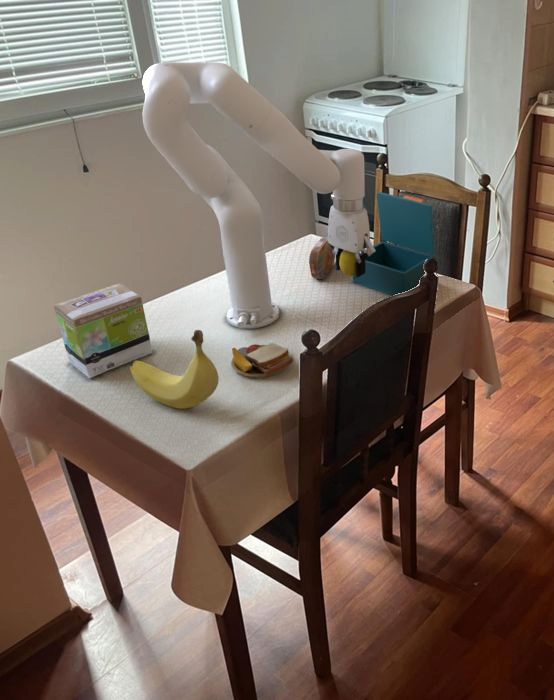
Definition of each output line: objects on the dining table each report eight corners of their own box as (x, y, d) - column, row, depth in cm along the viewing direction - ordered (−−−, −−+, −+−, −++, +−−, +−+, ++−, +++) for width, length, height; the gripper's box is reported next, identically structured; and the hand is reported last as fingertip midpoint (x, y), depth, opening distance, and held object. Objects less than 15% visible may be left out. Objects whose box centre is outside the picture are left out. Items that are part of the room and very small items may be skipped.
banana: (127, 396, 148) (104, 310, 138) (148, 381, 153) (128, 298, 142) (211, 428, 139) (194, 339, 129) (231, 412, 144) (216, 325, 133)
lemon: (353, 283, 179) (352, 253, 175) (335, 277, 181) (334, 248, 177) (366, 275, 183) (365, 246, 179) (348, 270, 185) (347, 241, 181)
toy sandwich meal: (273, 343, 166) (271, 325, 163) (302, 369, 157) (300, 350, 154) (222, 361, 160) (219, 342, 157) (249, 389, 150) (246, 370, 148)
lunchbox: (405, 299, 184) (404, 274, 180) (353, 282, 192) (351, 257, 188) (433, 281, 193) (434, 256, 189) (383, 265, 201) (382, 241, 198)
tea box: (90, 380, 153) (72, 320, 145) (69, 363, 159) (51, 304, 151) (154, 353, 162) (141, 294, 155) (132, 337, 168) (118, 280, 160)
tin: (320, 284, 191) (317, 255, 187) (308, 283, 192) (306, 254, 188) (336, 260, 204) (335, 233, 199) (326, 259, 204) (324, 232, 200)
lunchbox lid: (430, 206, 180) (442, 197, 184) (376, 192, 189) (389, 184, 192) (433, 255, 189) (444, 245, 192) (381, 240, 197) (393, 231, 201)
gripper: (311, 199, 173) (315, 267, 183) (367, 215, 165) (368, 286, 175) (332, 191, 179) (334, 258, 188) (387, 206, 171) (386, 276, 180)
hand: (350, 271), depth 181 cm, fingers closed on lemon, 5 cm apart
